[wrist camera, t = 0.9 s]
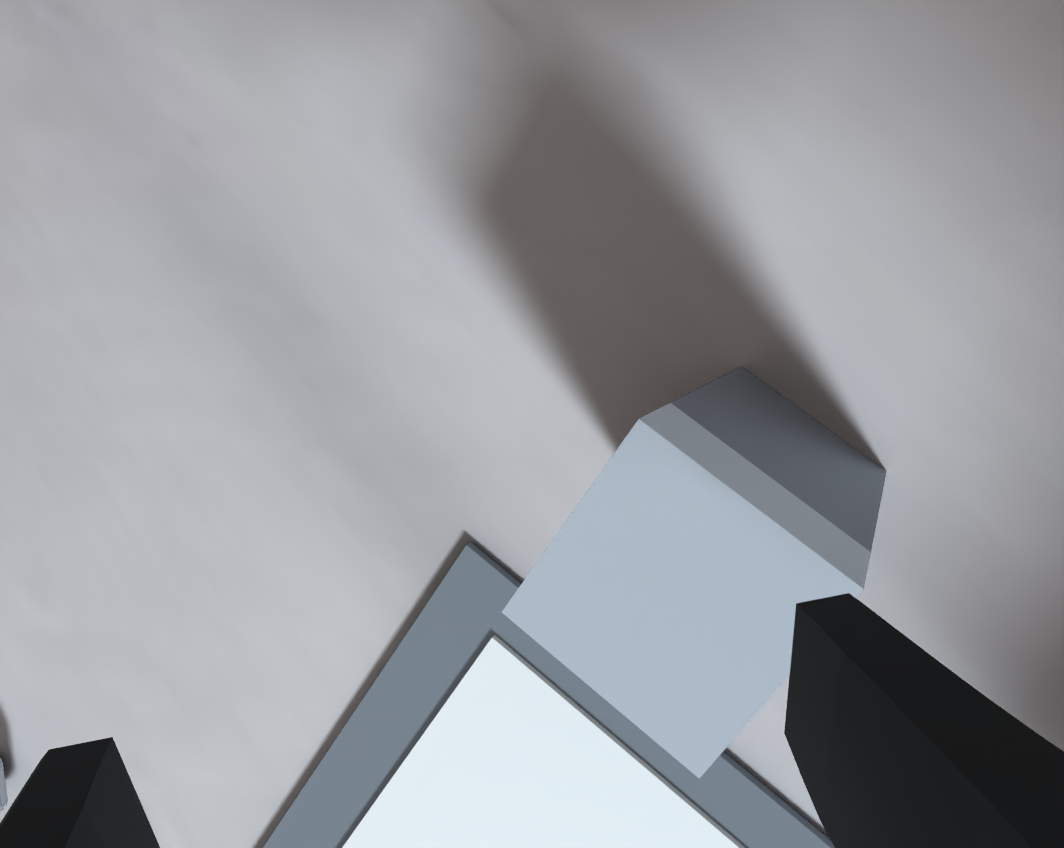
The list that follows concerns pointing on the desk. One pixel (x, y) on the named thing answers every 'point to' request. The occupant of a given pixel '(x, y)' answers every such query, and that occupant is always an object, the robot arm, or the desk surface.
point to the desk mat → (513, 752)
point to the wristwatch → (2, 788)
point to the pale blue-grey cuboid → (702, 561)
